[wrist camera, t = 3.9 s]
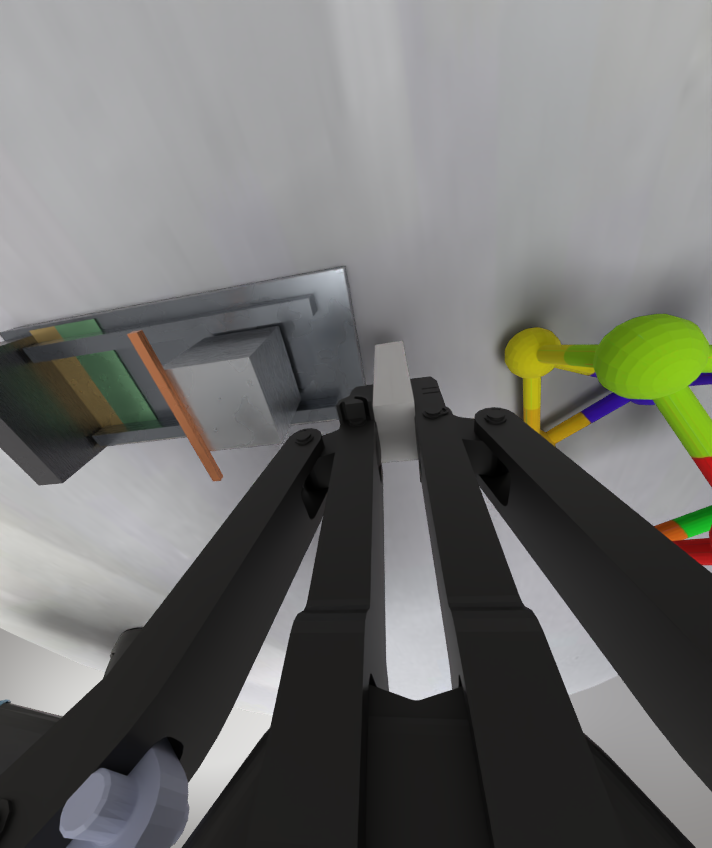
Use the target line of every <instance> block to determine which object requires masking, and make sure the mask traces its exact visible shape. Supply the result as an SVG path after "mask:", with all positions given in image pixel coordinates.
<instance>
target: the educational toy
mask: <svg viewBox="0 0 712 848" xmlns="http://www.w3.org/2000/svg"><path fill="white" fill-rule="evenodd" d="M505 363H506V365H507V366H508V368H509V370H510V371H511V372H512V373H513V374H515V375H517V376H519V377H522V378H523V416H524V422H525V423H526V424H528V425H529V426H530V427H531V428H533V429H534V430H535V431H536V432H538V433H539V434H540V435H541V436H543V437H544V438H545V439H546V440H547V441H549V442H550V443H551V444H552V445H554V446H555V444H556V443H558V442H559V441H561V440H563V439H565V438H566V437H568V436H570V435H572V434H573V433H575V432H577V431H579V430H581V429H582V428H584V427H586V426H588V425H589V424H591V423H593V422H595V421H596V420H598V419H600V418H602V417H603V416H605V415H607V414H609V413H610V412H612V411H614V410H616V409H618V408H619V407H621V406H623V405H625V404H626V403H628V402H630V401H631V402H633V403H635V404H638V405H655V404H656V406H657V407H658V409H659V410H660V412H661V413H662V415H663V416H664V418H665V419H666V421H667V422H668V424H669V425H670V426H671V428H672V429H673V431H674V432H675V434H676V435H677V437H678V438H679V440H680V441H681V443H682V444H683V446H684V447H685V449H686V450H687V452H688V453H689V455H690V456H691V457H692V459H693V460H694V462H695V463H696V465H697V466H698V468H699V469H700V471H701V472H702V474H703V475H704V477H705V478H706V480H707V481H708V483H709V484H710V486H711V487H712V420H711V418H710V417H709V415H708V414H707V412H706V411H705V410H704V408H703V407H702V405H701V404H700V402H699V401H698V399H697V398H696V397H695V395H694V394H693V392H692V391H691V389H690V388H689V386H695V385H708V384H712V345H709V343H708V341H707V339H706V338H705V336H704V335H703V333H702V331H701V330H700V329H699V327H698V326H697V325H696V324H694V323H693V322H691V321H689V320H685V319H682V318H678V317H675V316H671V315H668V314H653V315H647V316H641V317H636V318H633V319H631V320H628V321H626V322H624V323H622V324H620V325H618V326H616V327H615V328H614V329H613V330H612V331H610V332H609V333H608V334H607V335H606V336H605V337H604V338H603V339H602V341H601V342H600V344H599V345H561V343H560V340H559V339H558V338H557V337H556V336H555V335H554V334H553V332H551V331H549V330H547V329H543V328H538V327H535V328H529V329H525V330H523V331H521V332H519V333H517V334H516V335H515V336H514V337H513V338H512V339H511V340H510V341H509V342H508V344H507V346H506V349H505ZM554 368H558V369H562V370H567V371H571V372H575V373H579V374H584V375H588V376H592V377H597V378H598V380H599V382H600V383H601V384H602V386H603V387H605V388H607V389H608V390H610V391H612V392H613V393H611V394H609V395H608V396H606V397H604V398H603V399H601V400H599V401H598V402H596V403H594V404H593V405H591V406H589V407H587V408H586V409H584V410H582V411H581V412H579V413H577V414H576V415H574V416H572V417H571V418H569V419H567V420H566V421H564V422H562V423H560V424H559V425H557V426H555V427H554V428H552V429H550V430H549V431H547V432H544V431H542V430H540V404H541V376H544V375H546V374H547V373H549V372H550V371H552V370H553V369H554ZM555 447H556V446H555ZM654 527H655V528H656V529H658V530H659V531H660V532H661V533H662V534H664V535H665V536H666V537H667V538H669V539H670V540H671V541H672V542H674V543H675V544H676V545H677V546H679V547H680V548H681V549H682V550H684V551H685V552H686V553H687V554H688V555H690V556H691V557H692V558H693V559H695V560H696V561H697V562H698V563H700V564H701V565H712V505H711V506H708V507H706V508H703V509H700V510H697V511H695V512H692V513H689V514H686V515H684V516H681V517H678V518H675V519H673V520H670V521H667V522H664V523H662V524H659V525H656V526H654ZM707 531H709V538H704V539H690V540H684V539H686V538H689V537H692V536H695V535H698V534H701V533H704V532H707Z"/></svg>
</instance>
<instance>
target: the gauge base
mask: <svg viewBox="0 0 712 848" xmlns="http://www.w3.org/2000/svg"><path fill="white" fill-rule="evenodd" d="M273 326H279V328H280V332H281V335H282V338H283V341H284V345H285V348H286V351H287V354H288V358H289V361H290V364H291V367H292V371H293V374H294V377H295V380H296V384H297V387H298V390H299V393H300V397H301V401H300V403H299V405H298V408H297V410H296V412H295V415H294V417H293V419H292V422H291V424H290V425H298V424H307V423H315V422H324V421H333V420H339V416H338V412H337V408H336V405H337V403H338V402H339V401H340V400H341V399H343V398H345V397H348V396H350V392H351V391H352V390H353V389H354V388H355V387H358V386H366V384H365V378H364V372H363V367H362V361H361V355H360V349H359V343H358V338H357V332H356V326H355V320H354V314H353V309H352V303H351V297H350V291H349V285H348V280H347V274H346V268H345V266H341V267H336V268H331V269H325V270H320V271H315V272H309V273H304V274H299V275H293V276H288V277H283V278H277V279H272V280H267V281H262V282H256V283H251V284H246V285H240V286H235V287H230V288H224V289H219V290H214V291H209V292H203V293H198V294H193V295H187V296H182V297H177V298H171V299H166V300H161V301H155V302H150V303H145V304H140V305H134V306H129V307H124V308H118V309H113V310H108V311H102V312H97V313H92V314H87V315H81V316H76V317H71V318H65V319H60V320H55V321H49V322H44V323H39V324H33V325H28V326H23V327H18V328H14V329H10V330H7V331H4V332H0V335H1V337H2V338H3V339H4V340H5V341H3V342H0V448H1V449H2V450H3V451H4V452H5V453H6V454H7V455H8V456H9V457H11V458H12V459H13V460H14V461H15V462H16V463H17V464H18V465H19V466H20V467H21V468H22V469H23V470H24V471H25V472H26V473H27V474H28V475H29V476H30V477H31V478H32V479H33V480H34V481H35V482H36V483H37V484H38V485H48V484H59V483H63V482H65V481H66V480H67V479H68V478H69V477H71V476H72V475H73V474H74V473H75V472H77V471H78V470H79V469H80V468H81V467H83V466H84V465H85V464H86V463H87V462H89V461H90V460H91V459H92V458H93V457H95V456H96V455H97V454H98V453H99V452H101V451H102V450H103V449H104V448H105V447H107V446H113V445H122V444H131V443H140V442H149V441H157V440H166V439H175V438H184V437H187V436H186V434H185V433H184V431H183V429H182V427H181V426H180V424H179V422H178V421H177V419H176V417H175V416H174V414H173V412H172V410H171V409H170V407H169V405H168V404H167V402H166V400H165V398H164V397H163V395H162V393H161V392H160V390H159V388H158V387H157V385H156V383H155V381H154V380H153V378H152V376H151V375H150V373H149V371H148V369H147V368H146V366H145V364H144V363H143V361H142V359H141V358H140V356H139V354H138V352H137V351H136V349H135V347H134V346H133V344H132V342H131V340H130V339H129V337H128V335H127V334H129V333H131V332H133V331H139V330H143V332H144V334H145V336H146V338H147V339H148V341H149V343H150V345H151V347H152V348H153V350H154V352H155V354H156V356H157V357H158V359H159V361H160V363H161V365H162V366H164V365H165V364H167V363H168V362H170V361H171V360H173V359H174V358H176V357H177V356H179V355H180V354H182V353H183V352H185V351H186V350H188V349H189V348H190V347H192V346H193V345H195V344H196V343H198V342H199V341H201V340H202V339H204V338H207V337H213V336H219V335H225V334H231V333H237V332H243V331H249V330H255V329H261V328H267V327H273Z"/></svg>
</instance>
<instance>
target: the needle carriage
mask: <svg viewBox="0 0 712 848" xmlns="http://www.w3.org/2000/svg"><path fill="white" fill-rule="evenodd" d="M127 335H128V337H129V339H130V340H131V342H132V344H133V346H134V347H135V349H136V351H137V352H138V354H139V356H140V358H141V359H142V361H143V363H144V364H145V366H146V368H147V369H148V371H149V373H150V375H151V376H152V378H153V380H154V381H155V383H156V385H157V387H158V388H159V390H160V392H161V393H162V395H163V397H164V398H165V400H166V402H167V404H168V405H169V407H170V409H171V410H172V412H173V414H174V416H175V417H176V419H177V421H178V422H179V424H180V426H181V427H182V429H183V431H184V433H185V434H186V436H187V438H188V439H189V441H190V443H191V445H192V446H193V448H194V450H195V451H196V453H197V455H198V456H199V458H200V460H201V462H202V463H203V465H204V467H205V468H206V470H207V472H208V474H209V475H210V477H211V479H212V480H213V481H221V479H222V477H223V475H222V473H221V471H220V469H219V467H218V466H217V464H216V462H215V460H214V458H213V457H212V455H211V453H210V451H216V450H226V449H235V448H245V447H254V446H264V445H273V444H282V442H283V440H284V438H285V435H286V433H287V431H288V428H289V426H290V424H291V422H292V419H293V417H294V415H295V412H296V410H297V408H298V405H299V403H300V401H301V397H300V393H299V390H298V387H297V384H296V380H295V377H294V374H293V371H292V367H291V364H290V361H289V358H288V354H287V351H286V348H285V345H284V341H283V338H282V335H281V332H280V328H279V326H273V327H267V328H261V329H255V330H249V331H243V332H237V333H231V334H225V335H219V336H213V337H207V338H204V339H202V340H201V341H199V342H198V343H196V344H195V345H193V346H192V347H190V348H189V349H188V350H186V351H185V352H183V353H182V354H180V355H179V356H177V357H176V358H174V359H173V360H171V361H170V362H168V363H167V364H165V365H164V366H162V365H161V363H160V361H159V359H158V357H157V356H156V354H155V352H154V350H153V348H152V347H151V345H150V343H149V341H148V339H147V338H146V336H145V334H144V332H143V330H139V331H133V332H131V333H129V334H127Z"/></svg>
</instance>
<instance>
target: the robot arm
mask: <svg viewBox="0 0 712 848" xmlns="http://www.w3.org/2000/svg"><path fill="white" fill-rule="evenodd" d="M336 408H337V412H338V416H339V420H340V429H338V430H337V431H335V432H332V433H330V434H326V435H323V436H322V435H321V432H320V431H318V430H317V429H312V428H311V429H303V430H300V431H298V432H296V433H294V434H293V435H292V436H290V437H289V439H288V440H287V441H286V442H285V444H284V445H283V446H282V448H281V449H280V450H279V452H278V453H277V454H276V455H275V457H274V458H273V459H272V461H271V462H270V463H269V465H268V466H267V467H266V469H265V470H264V471H263V472H262V474H261V475H260V476H259V478H258V479H257V480H256V482H255V483H254V484H253V485H252V487H251V488H250V489H249V491H248V492H247V493H246V495H245V496H244V497H243V498H242V500H241V501H240V502H239V504H238V505H237V506H236V508H235V509H234V510H233V511H232V513H231V514H230V515H229V517H228V518H227V519H226V521H225V522H224V523H223V525H222V526H221V527H220V528H219V530H218V531H217V532H216V534H215V535H214V536H213V538H212V539H211V540H210V541H209V543H208V544H207V545H206V547H205V548H204V549H203V551H202V552H201V553H200V554H199V556H198V557H197V558H196V560H195V561H194V562H193V564H192V565H191V566H190V568H189V569H188V570H187V571H186V573H185V574H184V575H183V577H182V578H181V579H180V581H179V582H178V583H177V584H176V586H175V587H174V588H173V590H172V591H171V592H170V594H169V595H168V596H167V597H166V599H165V600H164V601H163V603H162V604H161V605H160V607H159V608H158V609H157V610H156V612H155V613H154V614H153V616H152V617H151V618H150V620H149V621H148V622H147V624H146V625H145V626H144V627H143V629H132V630H128V631H125V632H124V633H122V634H121V636H120V638H119V639H118V641H117V642H116V644H115V646H114V647H113V649H112V652H111V655H110V657H111V659H110V661H109V664H108V666H107V669H106V672H105V675H104V677H103V680H101V681H100V682H99V683H98V684H97V685H96V686H95V687H94V688H93V689H92V690H91V691H90V692H89V693H87V694H86V695H85V696H84V697H83V698H82V699H81V700H80V701H79V702H78V703H77V704H76V705H75V706H74V707H73V708H71V709H70V710H69V711H68V712H67V713H66V714H65V715H64V716H59V715H54V714H51V713H47V712H43V711H39V710H35V709H31V708H27V707H23V706H19V705H15V704H11V701H10V700H2V701H0V848H170V847H171V846H172V845H174V844H175V843H176V842H177V840H178V839H179V837H180V836H181V834H182V833H183V831H184V828H185V825H186V823H187V821H188V814H189V805H188V782H189V781H190V779H191V778H192V777H193V775H194V774H195V772H196V771H197V770H198V768H199V767H200V765H201V763H202V762H203V760H204V759H205V757H206V755H207V753H208V752H209V750H210V749H211V747H212V745H213V744H214V742H215V740H216V739H217V737H218V735H219V733H220V731H221V729H222V727H223V726H224V724H225V722H226V720H227V718H228V716H229V714H230V712H231V710H232V708H233V706H234V704H235V702H236V700H237V698H238V696H239V693H240V691H241V689H242V687H243V685H244V683H245V681H246V679H247V676H248V674H249V672H250V670H251V668H252V666H253V664H254V662H255V659H256V657H257V655H258V653H259V651H260V649H261V647H262V645H263V642H264V640H265V638H266V636H267V634H268V632H269V630H270V628H271V625H272V623H273V621H274V619H275V617H276V615H277V613H278V611H279V608H280V606H281V604H282V602H283V600H284V598H285V596H286V594H287V591H288V589H289V587H290V585H291V583H292V581H293V579H294V577H295V574H296V572H297V570H298V568H299V566H300V564H301V562H302V560H303V557H304V555H305V553H306V551H307V549H308V547H309V545H310V543H311V541H312V538H313V536H314V534H315V532H316V530H317V528H318V526H319V524H320V521H321V519H322V517H323V520H322V525H321V531H320V536H319V541H318V547H317V552H316V557H315V563H314V568H313V574H312V579H311V584H310V590H309V595H308V600H307V604H306V607H305V609H304V611H302V612H300V613H298V614H297V616H296V618H295V620H294V622H293V626H292V629H291V633H290V637H289V642H288V647H287V651H286V656H285V661H284V665H283V670H282V675H281V679H280V684H279V689H278V694H277V698H276V703H275V708H274V712H273V717H272V722H271V726H270V728H269V729H268V731H267V732H266V733H265V734H264V735H263V737H262V738H261V739H260V741H259V742H258V743H257V745H256V746H255V747H254V749H253V750H252V751H251V753H250V754H249V756H248V757H247V758H246V760H245V761H244V763H243V764H242V765H241V767H240V768H239V769H238V771H237V772H236V773H235V775H234V776H233V778H232V779H231V780H230V782H229V783H228V785H227V786H226V787H225V789H224V790H223V791H222V793H221V794H220V796H219V797H218V798H217V800H216V801H215V802H214V804H213V805H212V807H211V808H210V809H209V811H208V812H207V814H206V815H205V816H204V818H203V819H202V820H201V822H200V823H199V825H198V826H197V827H196V829H195V830H194V831H193V833H192V834H191V835H190V837H189V838H188V840H187V841H186V843H185V844H184V845H183V847H182V848H695V846H694V845H693V844H692V843H691V842H690V841H689V840H688V839H687V838H686V837H685V836H684V835H683V834H682V833H681V832H680V831H679V829H678V828H677V827H676V826H675V825H674V824H673V823H672V822H671V821H670V820H669V819H668V818H667V817H666V816H665V815H664V814H663V813H662V812H661V811H660V809H659V808H658V807H657V806H656V805H655V804H654V803H653V802H652V801H651V800H650V799H649V798H648V797H647V796H646V795H645V794H644V793H643V792H642V791H641V789H640V788H638V786H637V785H636V784H635V783H634V782H633V781H632V780H631V779H630V778H629V777H628V776H627V775H626V774H625V773H624V772H623V770H622V769H621V768H620V767H619V766H618V765H617V764H616V763H615V762H614V761H613V760H612V759H611V758H610V757H609V756H608V755H607V754H606V753H605V752H604V751H603V750H602V749H601V748H600V747H599V746H598V745H597V744H595V743H594V742H593V741H592V740H591V739H590V738H589V737H588V736H586V735H585V734H584V733H583V731H582V729H581V726H580V723H579V721H578V718H577V716H576V713H575V711H574V708H573V706H572V703H571V701H570V698H569V695H568V693H567V690H566V688H565V685H564V683H563V680H562V678H561V675H560V673H559V670H558V667H557V665H556V662H555V660H554V657H553V655H552V652H551V650H550V647H549V645H548V642H547V640H546V637H545V634H544V632H543V630H542V627H541V625H540V623H539V621H538V619H537V617H536V616H535V614H534V613H533V611H532V610H531V609H529V608H527V607H525V606H524V604H523V603H522V601H521V599H520V596H519V594H518V591H517V588H516V585H515V583H514V580H513V577H512V575H511V572H510V569H509V566H508V564H507V561H506V558H505V556H504V553H503V550H502V547H501V545H500V542H499V539H498V536H497V534H496V531H495V528H494V526H493V523H492V520H491V517H490V515H489V512H488V509H487V506H486V504H485V501H484V498H483V496H482V493H481V490H480V488H481V489H482V490H483V492H484V493H485V494H486V496H487V497H488V499H489V500H490V501H491V503H492V504H493V505H494V507H495V508H496V509H497V511H498V512H499V513H500V515H501V516H502V517H503V519H504V520H505V522H506V523H507V524H508V526H509V527H510V528H511V530H512V531H513V532H514V534H515V535H516V536H517V538H518V539H519V541H520V542H521V543H522V545H523V546H524V547H525V549H526V550H527V551H528V553H529V554H530V555H531V557H532V558H533V559H534V561H535V562H536V564H537V565H538V566H539V568H540V569H541V570H542V572H543V573H544V574H545V576H546V577H547V578H548V580H549V581H550V583H551V584H552V585H553V587H554V588H555V589H556V591H557V592H558V593H559V595H560V596H561V597H562V599H563V600H564V601H565V603H566V604H567V606H568V607H569V608H570V610H571V611H572V612H573V614H574V615H575V616H576V618H577V619H578V620H579V622H580V623H581V625H582V626H583V627H584V629H585V630H586V631H587V633H588V634H589V635H590V637H591V638H592V639H593V641H594V642H595V643H596V645H597V646H598V648H599V649H600V650H601V652H602V653H603V654H604V656H605V657H606V658H607V660H608V661H609V662H610V664H611V665H612V666H613V668H614V669H615V671H616V672H617V673H618V675H619V676H620V677H621V678H622V680H623V681H624V683H625V684H626V685H627V687H628V688H629V689H630V691H631V692H632V694H633V695H634V696H635V698H636V699H637V700H638V702H639V703H640V704H641V706H642V707H643V708H644V710H645V711H646V713H647V714H648V715H649V717H650V718H651V719H652V721H653V722H654V723H655V724H656V726H657V727H658V728H659V730H660V731H661V732H662V733H663V735H664V736H665V737H666V738H667V740H668V741H669V742H670V744H671V745H672V746H673V747H674V749H675V750H676V751H677V752H678V754H679V755H680V756H681V757H682V759H683V760H684V761H685V762H686V763H687V764H688V765H689V767H690V768H691V769H692V770H693V771H694V772H695V773H696V774H697V776H698V777H699V778H700V779H701V780H702V781H703V782H704V783H705V785H706V786H707V787H708V788H709V789H710V790H711V791H712V573H711V572H709V571H708V570H707V569H706V568H705V567H703V566H702V565H701V564H700V563H698V562H697V561H696V560H695V559H693V558H692V557H691V556H690V555H688V554H687V553H686V552H685V551H684V550H682V549H681V548H680V547H679V546H677V545H676V544H675V543H674V542H672V541H671V540H670V539H669V538H667V537H666V536H665V535H664V534H662V533H661V532H660V531H659V530H658V529H656V528H655V527H654V526H653V525H651V524H650V523H649V522H648V521H646V520H645V519H644V518H643V517H641V516H640V515H639V514H638V513H637V512H635V511H634V510H633V509H632V508H630V507H629V506H628V505H627V504H625V503H624V502H623V501H622V500H620V499H619V498H618V497H617V496H615V495H614V494H613V493H612V492H611V491H609V490H608V489H607V488H606V487H604V486H603V485H602V484H601V483H599V482H598V481H597V480H596V479H594V478H593V477H592V476H591V475H590V474H588V473H587V472H586V471H585V470H583V469H582V468H581V467H580V466H578V465H577V464H576V463H575V462H573V461H572V460H571V459H570V458H569V457H567V456H566V455H565V454H564V453H562V452H561V451H560V450H559V449H557V448H556V447H555V446H554V445H552V444H551V443H550V442H549V441H547V440H546V439H545V438H544V437H543V436H541V435H540V434H539V433H538V432H536V431H535V430H534V429H533V428H531V427H530V426H529V425H528V424H526V423H525V422H524V421H523V420H522V419H520V418H519V417H518V416H517V415H515V414H514V413H512V412H511V411H509V410H506V409H502V408H495V407H493V408H485V409H483V410H480V411H478V412H477V413H476V414H475V419H471V418H462V417H458V416H455V415H453V414H452V411H451V410H450V409H449V408H448V407H446V406H445V403H444V400H443V397H442V395H441V392H440V389H439V386H438V383H437V381H436V380H435V379H433V378H432V377H422V378H414V379H410V377H409V371H408V366H407V361H406V355H405V350H404V345H403V341H398V342H391V343H384V344H377V345H375V359H374V385H366V386H358V387H355V388H354V389H353V390H352V391H351V392H350V396H348V397H345V398H343V399H341V400H340V401H339V402H338V403H337V405H336ZM381 459H382V463H386V462H397V461H408V460H419V471H420V482H421V483H422V489H423V496H424V502H425V508H426V515H427V521H428V528H429V534H430V541H431V547H432V554H433V560H434V567H435V573H436V580H437V586H438V593H439V599H440V606H441V612H442V619H443V625H444V632H445V638H446V644H447V651H448V658H449V665H450V674H451V683H452V690H450V691H447V692H444V693H441V694H437V695H434V696H431V697H428V698H425V699H422V700H411V699H408V698H405V697H402V696H400V695H397V694H394V693H392V692H389V687H388V676H387V666H386V631H385V571H384V511H383V469H382V463H381ZM479 486H480V487H479Z"/></svg>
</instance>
